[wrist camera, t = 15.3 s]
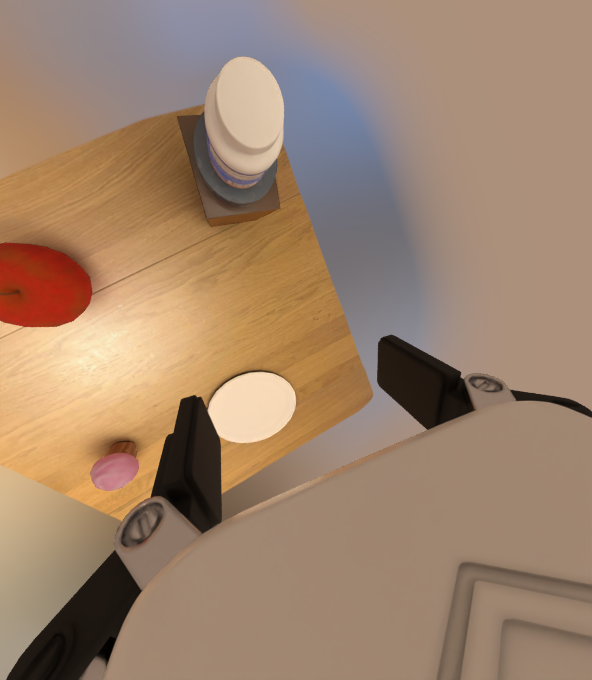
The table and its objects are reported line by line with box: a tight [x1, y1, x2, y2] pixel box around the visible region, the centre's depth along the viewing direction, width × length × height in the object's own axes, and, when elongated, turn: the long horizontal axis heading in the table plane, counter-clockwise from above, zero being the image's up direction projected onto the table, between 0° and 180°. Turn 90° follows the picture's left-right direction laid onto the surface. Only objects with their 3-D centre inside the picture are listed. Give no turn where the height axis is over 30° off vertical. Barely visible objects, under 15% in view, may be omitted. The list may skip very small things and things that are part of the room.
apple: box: [0, 243, 92, 327], centre depth 33 cm, size 12×12×14 cm
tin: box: [193, 112, 277, 207], centre depth 23 cm, size 8×8×4 cm
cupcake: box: [90, 442, 139, 491], centre depth 52 cm, size 9×9×10 cm
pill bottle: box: [204, 57, 284, 188], centre depth 17 cm, size 5×5×10 cm
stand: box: [177, 115, 280, 227], centre depth 33 cm, size 9×9×20 cm
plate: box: [207, 372, 296, 443], centre depth 63 cm, size 25×25×1 cm
